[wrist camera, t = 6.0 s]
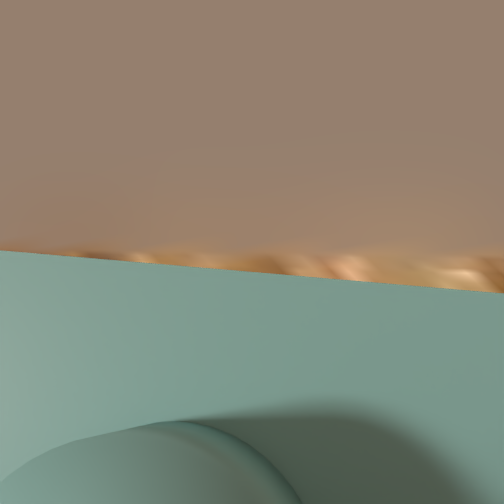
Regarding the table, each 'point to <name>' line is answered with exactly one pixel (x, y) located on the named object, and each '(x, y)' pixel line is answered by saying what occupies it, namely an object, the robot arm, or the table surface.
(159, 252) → the table surface
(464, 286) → the table surface
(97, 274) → the teal post
